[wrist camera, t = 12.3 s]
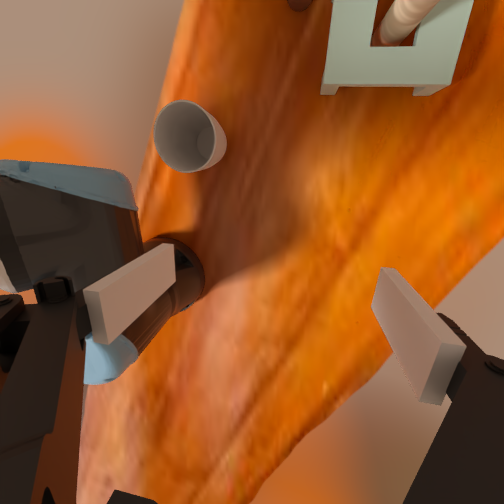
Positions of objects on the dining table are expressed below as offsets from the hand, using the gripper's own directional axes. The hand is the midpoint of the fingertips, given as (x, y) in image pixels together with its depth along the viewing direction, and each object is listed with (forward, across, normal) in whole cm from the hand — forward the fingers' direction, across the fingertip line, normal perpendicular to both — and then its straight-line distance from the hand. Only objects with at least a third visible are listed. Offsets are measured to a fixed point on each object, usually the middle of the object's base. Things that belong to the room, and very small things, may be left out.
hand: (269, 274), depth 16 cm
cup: (+27, -13, +9) cm, 31 cm away
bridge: (+27, +10, +22) cm, 36 cm away
